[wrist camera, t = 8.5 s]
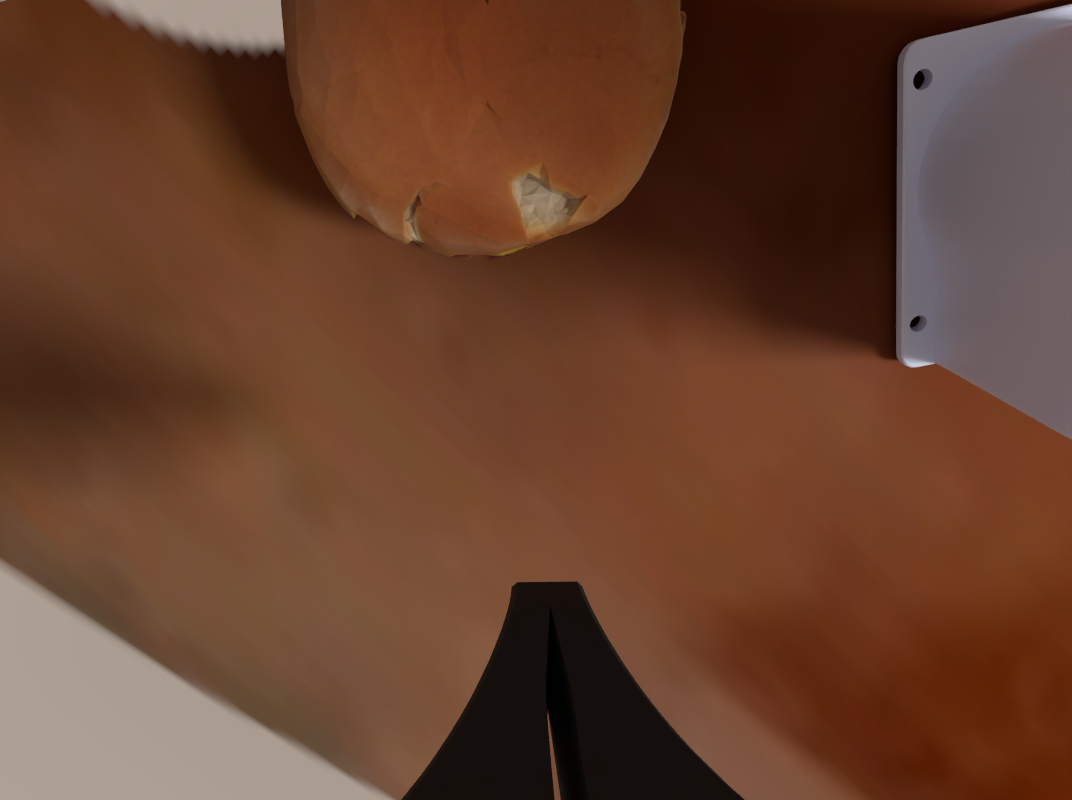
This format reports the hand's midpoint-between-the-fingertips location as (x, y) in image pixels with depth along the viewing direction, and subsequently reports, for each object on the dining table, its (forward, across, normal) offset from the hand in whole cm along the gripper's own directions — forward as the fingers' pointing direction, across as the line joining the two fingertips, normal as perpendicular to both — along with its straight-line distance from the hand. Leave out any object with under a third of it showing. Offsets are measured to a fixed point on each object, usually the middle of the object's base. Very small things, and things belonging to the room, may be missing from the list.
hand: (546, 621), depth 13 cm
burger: (+10, +1, -11) cm, 15 cm away
